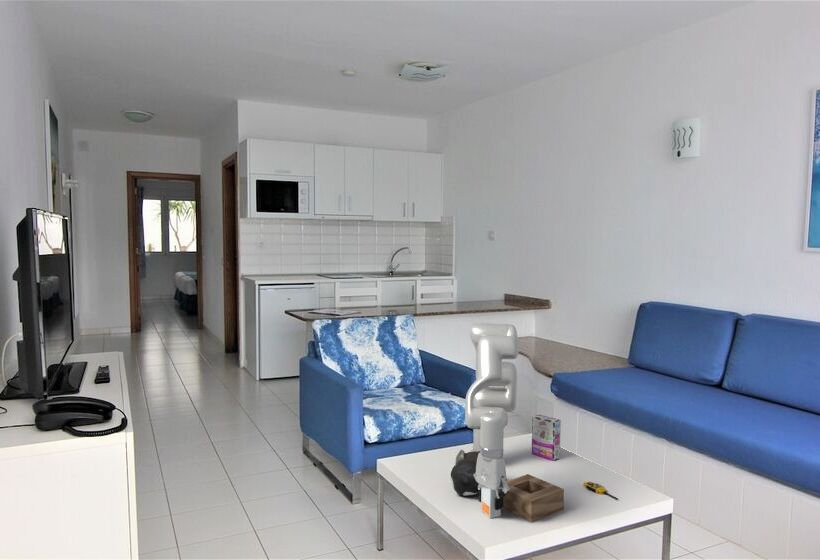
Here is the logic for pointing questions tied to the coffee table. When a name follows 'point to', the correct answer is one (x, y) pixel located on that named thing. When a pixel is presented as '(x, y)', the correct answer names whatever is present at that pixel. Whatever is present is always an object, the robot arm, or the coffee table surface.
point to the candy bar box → (546, 437)
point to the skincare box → (489, 502)
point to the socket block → (533, 498)
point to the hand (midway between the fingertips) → (490, 504)
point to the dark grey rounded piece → (465, 473)
